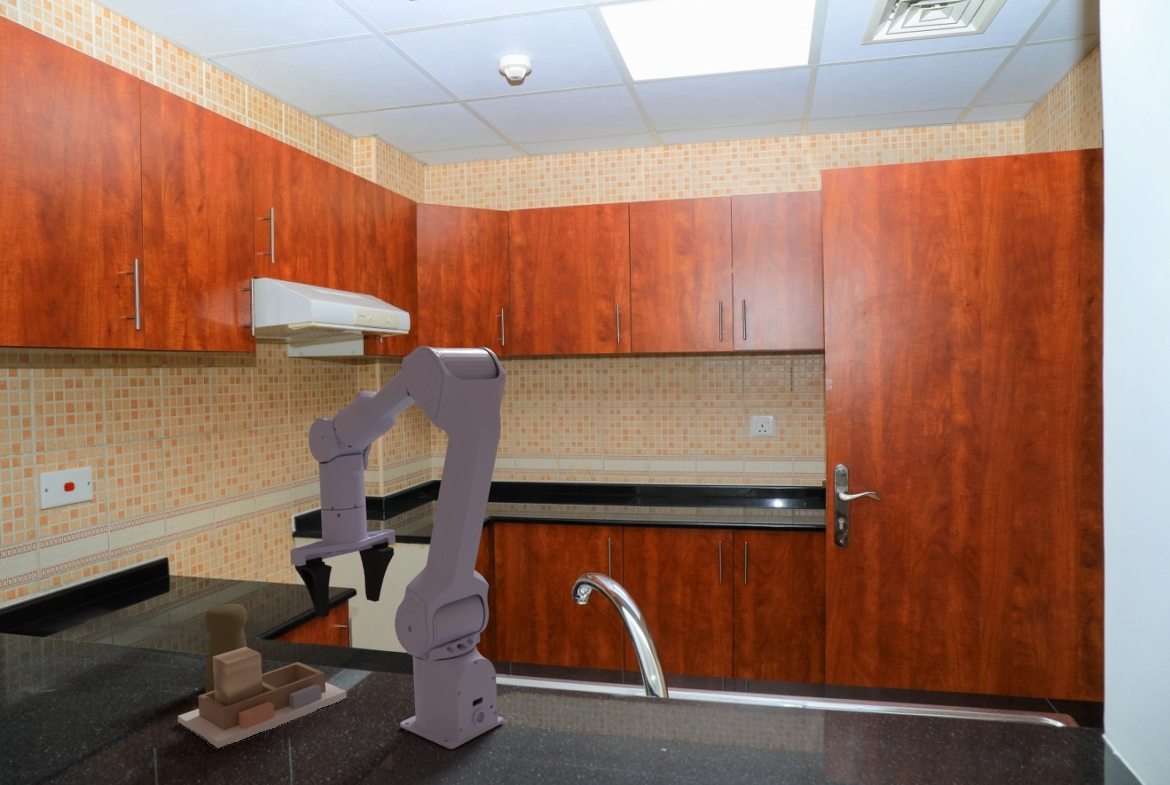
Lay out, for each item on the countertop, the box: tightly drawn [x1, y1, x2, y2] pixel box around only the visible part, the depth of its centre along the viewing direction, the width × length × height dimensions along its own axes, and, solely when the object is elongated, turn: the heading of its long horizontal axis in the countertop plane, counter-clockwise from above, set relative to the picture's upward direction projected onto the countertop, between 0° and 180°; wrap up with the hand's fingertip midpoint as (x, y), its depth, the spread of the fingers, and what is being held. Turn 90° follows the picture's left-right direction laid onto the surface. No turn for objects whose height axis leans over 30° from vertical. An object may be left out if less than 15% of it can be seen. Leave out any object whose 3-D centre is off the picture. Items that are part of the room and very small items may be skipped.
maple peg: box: [213, 646, 263, 706], centre depth 88 cm, size 4×4×7 cm
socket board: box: [177, 661, 347, 748], centre depth 90 cm, size 11×16×3 cm
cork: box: [204, 603, 248, 692], centre depth 99 cm, size 6×6×11 cm
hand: (348, 607), depth 98 cm, fingers open, 7 cm apart
